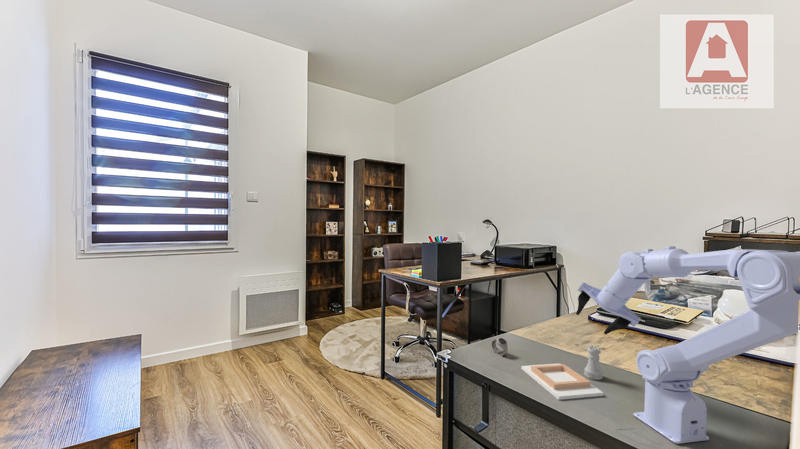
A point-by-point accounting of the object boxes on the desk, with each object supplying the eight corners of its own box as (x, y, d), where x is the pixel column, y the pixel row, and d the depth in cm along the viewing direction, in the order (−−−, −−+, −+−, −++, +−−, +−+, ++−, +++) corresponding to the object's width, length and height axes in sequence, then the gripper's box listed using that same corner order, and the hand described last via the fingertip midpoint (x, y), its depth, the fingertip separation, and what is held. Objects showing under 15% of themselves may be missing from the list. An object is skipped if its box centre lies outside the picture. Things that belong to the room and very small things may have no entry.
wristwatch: (501, 358, 100) (501, 341, 100) (488, 350, 106) (489, 334, 106) (510, 356, 102) (511, 340, 102) (497, 348, 107) (498, 333, 107)
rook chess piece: (605, 381, 87) (606, 351, 87) (587, 379, 88) (588, 349, 88) (599, 373, 91) (600, 345, 91) (581, 372, 92) (582, 343, 92)
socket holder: (603, 395, 80) (603, 387, 80) (558, 399, 78) (558, 391, 77) (559, 366, 95) (559, 359, 95) (521, 368, 93) (521, 361, 93)
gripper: (655, 300, 80) (624, 331, 88) (595, 265, 87) (572, 297, 96) (646, 316, 76) (615, 347, 84) (585, 278, 83) (562, 310, 91)
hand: (591, 322), depth 90 cm, fingers open, 7 cm apart
